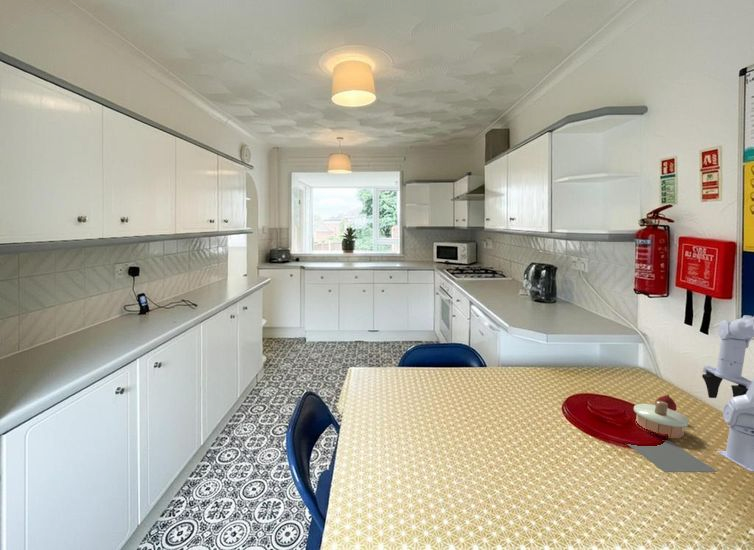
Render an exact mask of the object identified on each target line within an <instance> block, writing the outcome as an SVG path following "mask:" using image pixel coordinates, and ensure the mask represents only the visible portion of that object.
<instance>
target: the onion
mask: <svg viewBox="0 0 754 550" xmlns="http://www.w3.org/2000/svg"><path fill="white" fill-rule="evenodd" d="M656 401H663V402H666V403H667V404H668V407H667V408H668V409H671V410H674V411H676V412H677V404H676V402H675V401H674V399H673V398H672V397H670V396H669V394H668V393H665V394H664V396H660V397H658V398H657V399H656V400H655V403H654V405H656Z"/></svg>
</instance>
